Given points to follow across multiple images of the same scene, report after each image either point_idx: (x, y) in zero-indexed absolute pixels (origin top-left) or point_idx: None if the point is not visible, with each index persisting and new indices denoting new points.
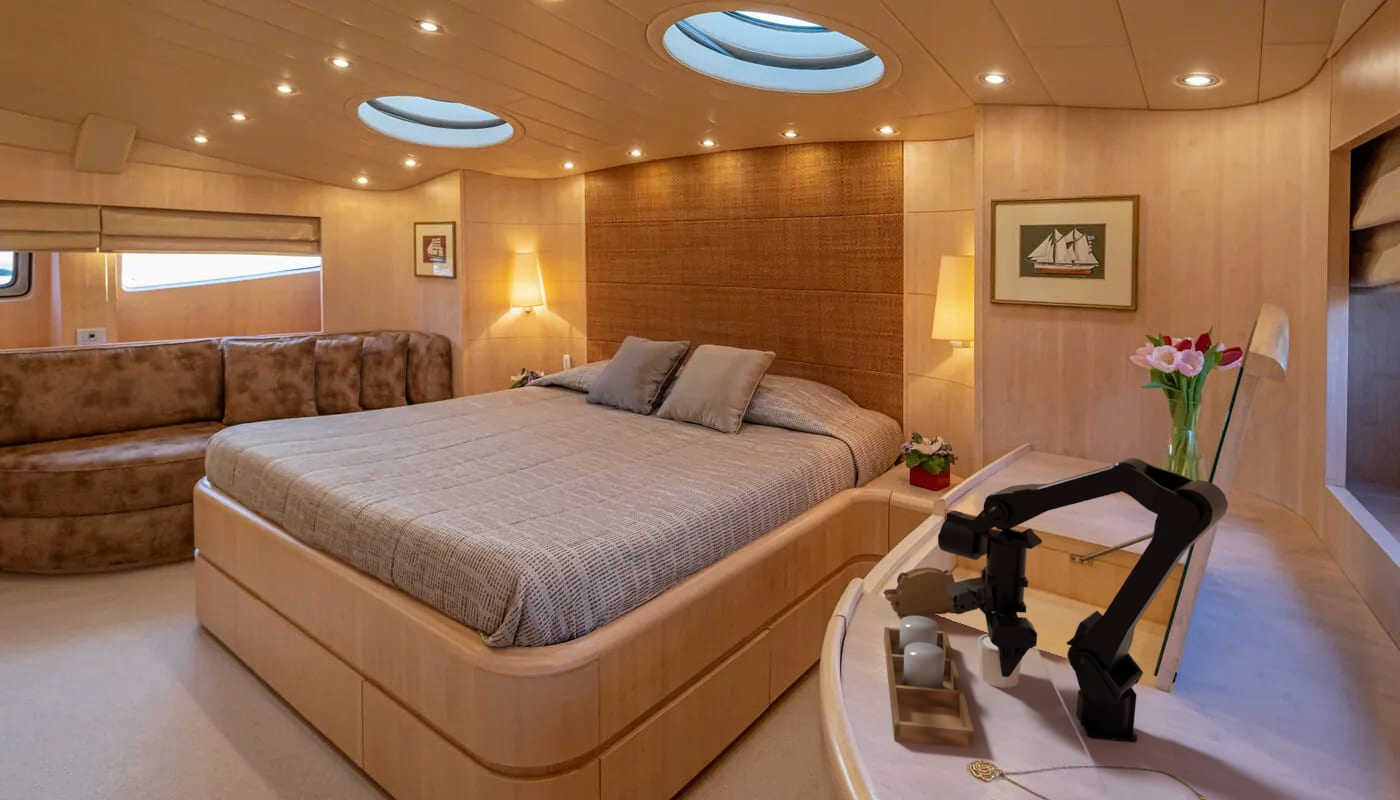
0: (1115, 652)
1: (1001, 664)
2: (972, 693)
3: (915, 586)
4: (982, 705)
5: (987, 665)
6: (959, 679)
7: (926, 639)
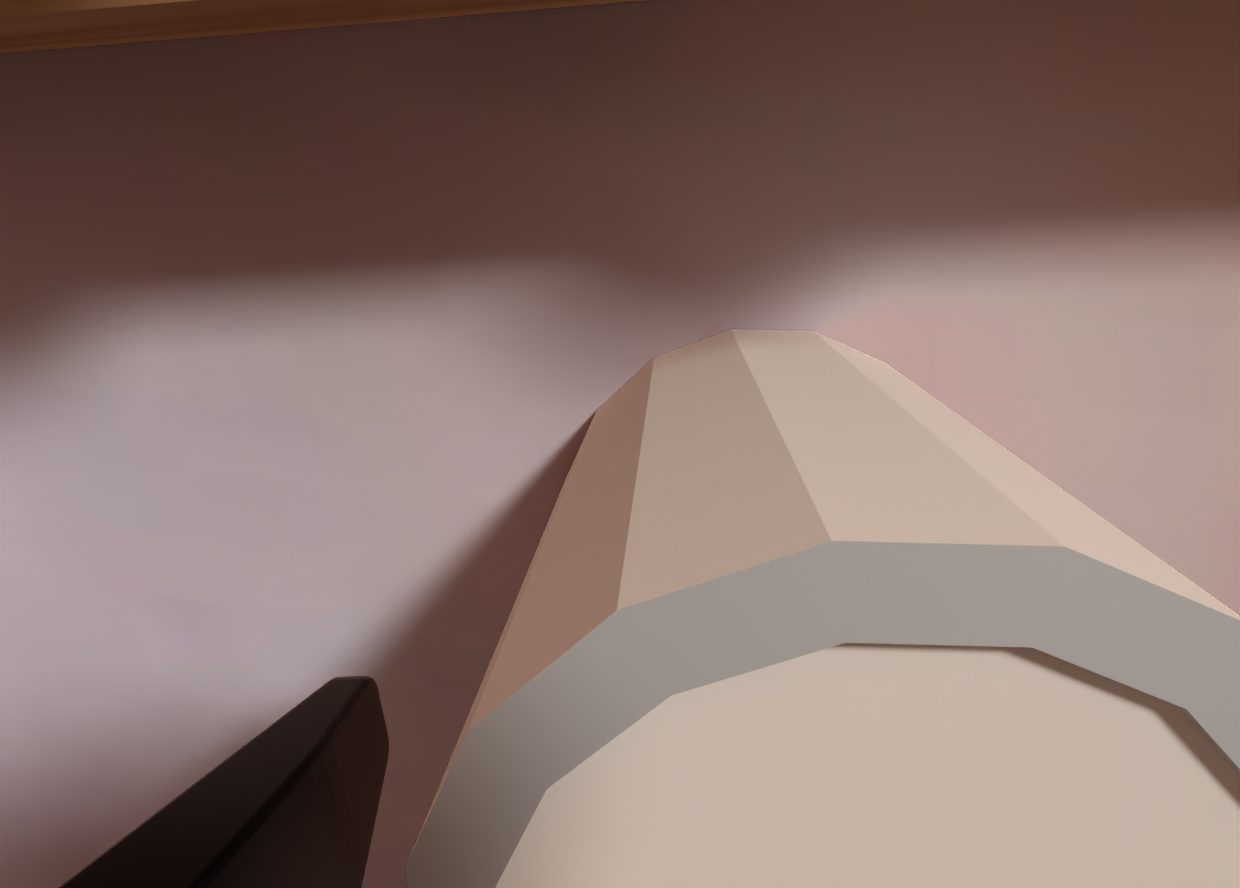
0: None
1: (149, 823)
2: (469, 226)
3: None
4: (239, 315)
5: (556, 529)
6: (36, 9)
7: None
